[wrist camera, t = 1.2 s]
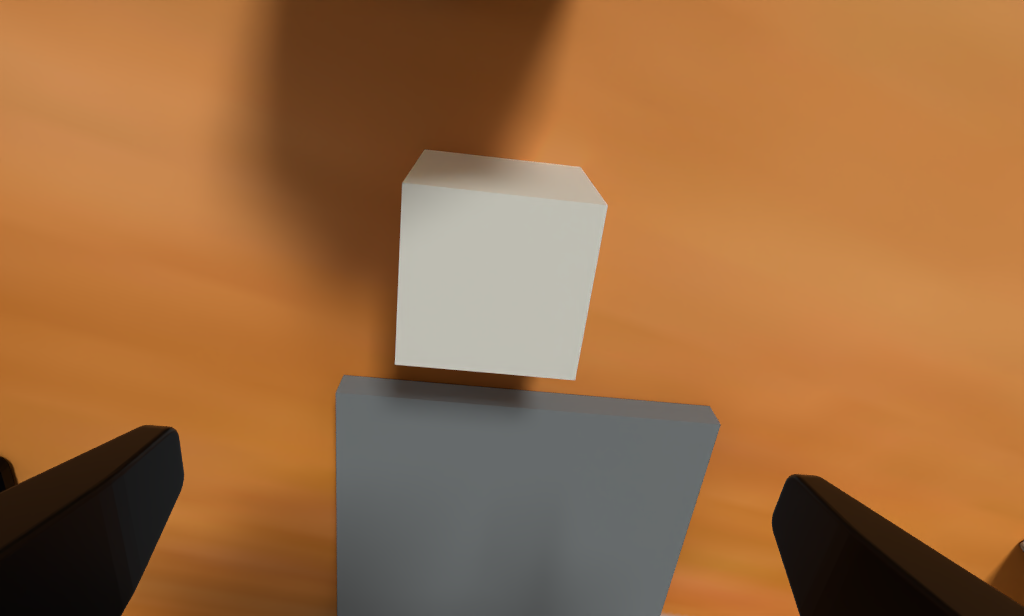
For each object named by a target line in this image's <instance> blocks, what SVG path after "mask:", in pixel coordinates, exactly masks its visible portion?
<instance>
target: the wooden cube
mask: <svg viewBox="0 0 1024 616" xmlns="http://www.w3.org/2000/svg"><path fill="white" fill-rule="evenodd" d="M607 207H608V205H607V204H606V202H605V201H604V199H603V198H602V197H601V195H600V194H599V192H598V191H597V190H596V188H595V187H594V185H593V184H592V182H591V181H590V180H589V178H588V177H587V175H586V174H585V173H584V171H583V170H582V168H581V167H576V166H567V165H558V164H549V163H541V162H532V161H523V160H514V159H506V158H497V157H488V156H479V155H471V154H462V153H453V152H444V151H436V150H427V149H424V151H423V152H422V154H421V155H420V157H419V158H418V160H417V161H416V163H415V164H414V166H413V167H412V169H411V170H410V172H409V173H408V175H407V176H406V178H405V179H404V181H403V182H402V201H401V226H400V250H399V275H398V299H397V324H396V349H395V365H406V366H417V367H428V368H440V369H451V370H463V371H474V372H486V373H497V374H509V375H520V376H532V377H543V378H555V379H566V380H575V378H576V372H577V367H578V362H579V356H580V351H581V346H582V340H583V335H584V330H585V324H586V319H587V314H588V308H589V303H590V297H591V292H592V287H593V281H594V276H595V271H596V265H597V260H598V255H599V249H600V244H601V239H602V233H603V228H604V223H605V217H606V212H607Z"/></svg>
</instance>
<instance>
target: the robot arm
mask: <svg viewBox="0 0 1024 616" xmlns="http://www.w3.org/2000/svg"><path fill="white" fill-rule="evenodd" d="M183 481H184V470H183V462H182V455H181V448H180V441H179V435H178V433H177V431H176V430H175V429H174V428H172V427H167V426H154V425H144V426H140V427H138V428H136V429H134V430H132V431H130V432H128V433H125V434H123V435H121V436H119V437H117V438H115V439H113V440H111V441H108V442H106V443H104V444H102V445H100V446H98V447H96V448H94V449H92V450H89V451H87V452H85V453H83V454H81V455H79V456H77V457H75V458H72V459H70V460H68V461H66V462H64V463H62V464H60V465H58V466H56V467H53V468H51V469H49V470H47V471H45V472H43V473H41V474H39V475H36V476H34V477H32V478H30V479H28V480H26V481H24V482H22V483H19V484H17V485H14V482H13V478H12V475H11V471H10V468H9V465H8V463H7V462H6V461H5V460H4V459H3V458H1V457H0V616H121V615H122V613H123V611H124V609H125V608H126V606H127V604H128V602H129V601H130V599H131V597H132V595H133V593H134V591H135V589H136V587H137V585H138V583H139V581H140V579H141V577H142V575H143V573H144V571H145V568H146V566H147V564H148V562H149V560H150V558H151V555H152V553H153V551H154V549H155V547H156V544H157V542H158V540H159V538H160V536H161V533H162V531H163V529H164V527H165V525H166V522H167V520H168V518H169V516H170V514H171V511H172V509H173V507H174V505H175V503H176V500H177V498H178V496H179V494H180V492H181V489H182V486H183ZM772 528H773V533H774V536H775V539H776V542H777V545H778V549H779V552H780V555H781V558H782V561H783V564H784V567H785V570H786V573H787V577H788V580H789V583H790V586H791V589H792V592H793V595H794V598H795V601H796V604H797V608H798V611H799V614H800V616H1024V607H1023V606H1021V605H1020V604H1018V603H1017V602H1015V601H1014V600H1012V599H1011V598H1009V597H1007V596H1006V595H1004V594H1003V593H1001V592H1000V591H998V590H996V589H995V588H993V587H992V586H990V585H989V584H987V583H985V582H984V581H982V580H981V579H979V578H978V577H976V576H975V575H973V574H971V573H970V572H968V571H967V570H965V569H964V568H962V567H960V566H959V565H957V564H956V563H954V562H953V561H951V560H949V559H948V558H946V557H945V556H943V555H942V554H940V553H939V552H937V551H935V550H934V549H932V548H931V547H929V546H928V545H926V544H924V543H923V542H921V541H920V540H918V539H917V538H915V537H913V536H912V535H910V534H909V533H907V532H906V531H904V530H903V529H901V528H899V527H898V526H896V525H895V524H893V523H892V522H890V521H888V520H887V519H885V518H884V517H882V516H881V515H879V514H878V513H876V512H874V511H873V510H871V509H870V508H868V507H867V506H865V505H863V504H862V503H860V502H859V501H857V500H856V499H854V498H852V497H851V496H849V495H848V494H846V493H845V492H843V491H842V490H840V489H838V488H837V487H835V486H834V485H832V484H831V483H829V482H827V481H826V480H824V479H823V478H821V477H818V476H814V475H801V474H794V475H791V476H789V477H788V478H787V480H786V482H785V484H784V487H783V489H782V492H781V495H780V497H779V500H778V502H777V505H776V507H775V510H774V513H773V517H772Z"/></svg>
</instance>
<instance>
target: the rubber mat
mask: <svg viewBox="0 0 1024 616" xmlns="http://www.w3.org/2000/svg"><path fill="white" fill-rule="evenodd" d="M720 425H721V424H720V423H719V421H718V419H717V418H716V416H715V414H714V413H713V411H712V409H711V408H710V406H701V405H689V404H677V403H666V402H654V401H642V400H630V399H619V398H607V397H595V396H583V395H572V394H560V393H548V392H536V391H525V390H513V389H501V388H489V387H478V386H466V385H454V384H443V383H431V382H419V381H407V380H396V379H384V378H372V377H360V376H349V375H344V376H343V378H342V380H341V382H340V385H339V387H338V389H337V391H336V499H337V616H660V615H661V611H662V608H663V605H664V602H665V599H666V596H667V592H668V589H669V586H670V583H671V580H672V577H673V573H674V570H675V567H676V564H677V561H678V558H679V554H680V551H681V548H682V545H683V542H684V539H685V535H686V532H687V529H688V526H689V523H690V520H691V517H692V513H693V510H694V507H695V504H696V501H697V498H698V494H699V491H700V488H701V485H702V482H703V479H704V475H705V472H706V469H707V466H708V463H709V460H710V456H711V453H712V450H713V447H714V444H715V441H716V437H717V434H718V431H719V428H720Z"/></svg>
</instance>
